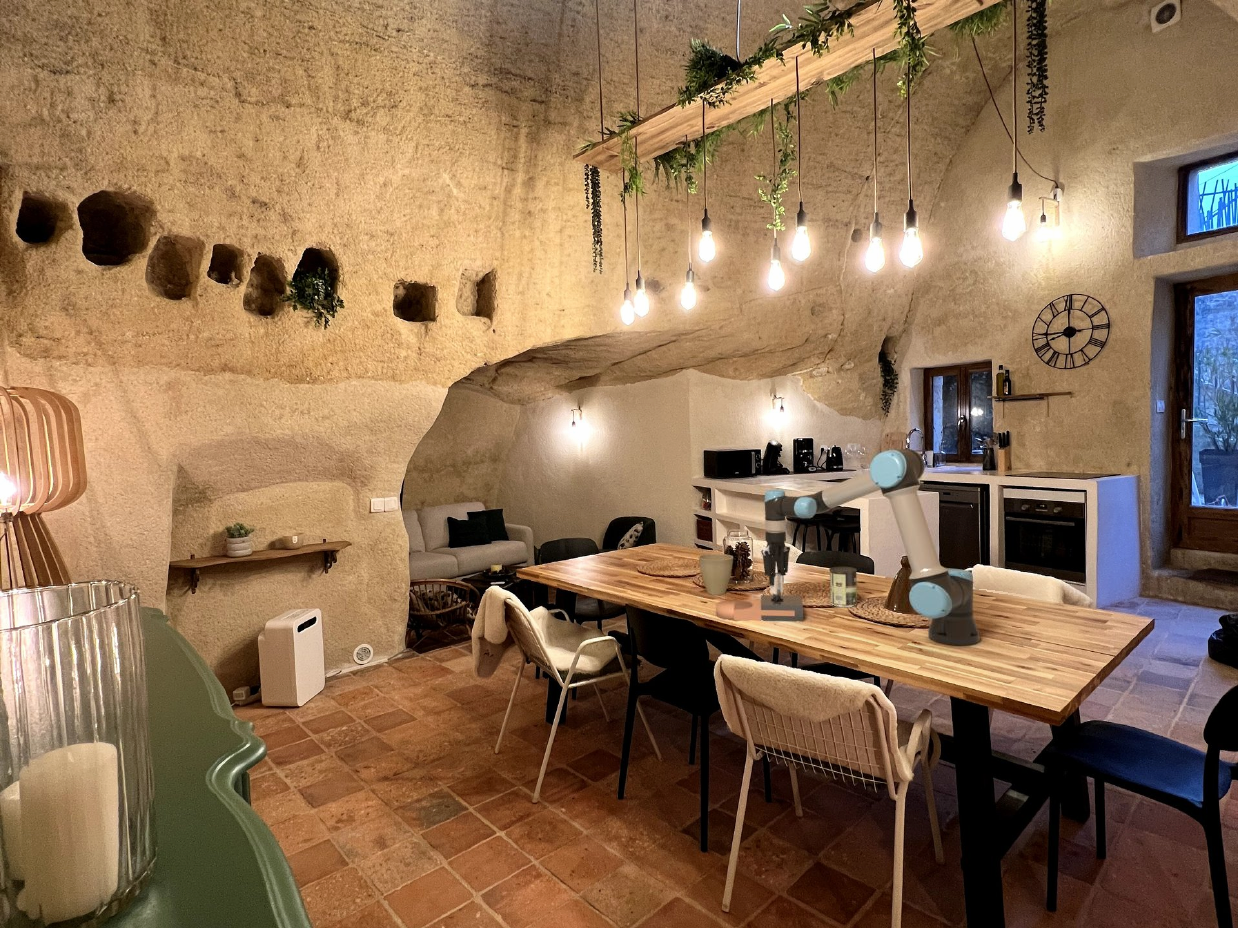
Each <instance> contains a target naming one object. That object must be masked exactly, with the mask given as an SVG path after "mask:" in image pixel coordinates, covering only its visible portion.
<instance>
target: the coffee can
mask: <svg viewBox="0 0 1238 928" xmlns="http://www.w3.org/2000/svg"><path fill="white" fill-rule="evenodd" d="M857 570H858V569H857V568H855V567H850V566H833V567H829V583H830V584H829V585H830V586H829V588H830V589H829V590H830V592H829V593H830V594H829V595H830V605H831V604H832V606H833V605H834V607H838V608H853V607H852V606H853V605H856V604H857V605H858V586H857V585H858V584H857V582H858V581H857V577H858V576H857Z"/></svg>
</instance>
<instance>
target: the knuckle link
mask: <svg viewBox="0 0 1238 928" xmlns="http://www.w3.org/2000/svg"><path fill="white" fill-rule="evenodd" d="M715 613H716V615H715V616H716V617H717V618H719V619H723V620H726V619H728V620H727V621H750V620H757V621H756V622H759V621H760V622H762V621H761V615H766V616H795V611H784V610H761V599H760V600H758V599H757V600H754V599H751V600H749V599H748V600H747V599H727V600H722V601H718V602H717V603H716V604H715ZM758 620H759V621H758Z"/></svg>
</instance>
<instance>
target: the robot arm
mask: <svg viewBox="0 0 1238 928" xmlns="http://www.w3.org/2000/svg"><path fill="white" fill-rule="evenodd" d="M925 469H926V465H925V460H924V458H923V456H922V455H921V454H920V453H919V452H917V451H916V450H915V449H914V450H913V449H910V448H902V449H901V448H899V449H889V450H885V451H882V452H879V453H878V454H877V455H875V456H874V458H873V459H872V461H870V465H869V470H868V471H865V472H863V473H861V474H859V475H856V476H854V477H851V478H849V479H846V480H844V481H842V482H838V483H837V484H834V485H832V486H829V487H827V488H825V489H823V490H819V491H817V492H814V493H812V494H805V495H799V496H789V495H786V491H785V490H783V489H769V490H766V491H765V492H764V501H763V502H764V516H765V517H764V526H765V528H764V529H765V534H764V535H765V542H766V548H765V549H761V551H760V554H761V555H762V560H763V561H762V562H763V568H764V570H763V571H764V575H765V576H767V577H768V578H769V579H768V580H769V582H768V583H769V586H770V589H769V590H770V594H772V595H773V594H777V577H775V573H781V594H783V593H784V579H785V576H787V573H788V571H789V560H790V559H789V558H790V552H791V551H790V550H791V546H787V545H786V544H785V542H786V540H787V534H786V533H787V532H786V530H787V526H786V523H787V521H786V517H792V518H799V519H811V518H813V517H814V516H815V515H816V514H824V513H826V512H828V511H829V510H831V509H834V508H836V507H839V506H841V505H844V504H847V503H850V502H852V501H855V500H857V499H859V498H862V497H864V496H867V495H870V494H873V493H876V492H878V491H880V492H881V495H882V496H883V497H884V498H886V499H888V500H889V502H890V503H889V504H890V506H891V509H892V512H893V515H894V520H895V521H896V525H897V529H898V531H899V534H900V537H901V541H902V544H903V547H904V550H905V553H906V556H907V559H908V563H909V566H910V569H911V573H910V575H909V577H908V580H909V582H910V585H911V589H910V591H909V594H908V597H909V603H910V605H911V607H912V608H913V610H914V611H915V612H916V613H917V614H919V615H920V616H922V617H923V618H926V619H931V622H930V624H929V626H928V630H927V631H928V635H927V636H928V638H929V639H930V640H931V641H934V642H937V643H940V644H945V645H951V646H954V645H955V646H972V645H976V644H979V642H980V632H979V629H978V626H977V623H976V621H975V618H974V583H975V582H974V579H973V578H974V577H973V573H972V572H971V571H969V570H965V569H958V568H948V567H944V566H942V565H941V563H940V560H939V557H938V554H937V551H936V547H935V545H934V542H933V541H934V540H933V538H932V535H931V532H930V529H929V526H928V523H927V520H926V517H925V513H924V511H923V506H922V505H921V502H920V498H919V495H918V491H919V488H920V487H921V486H920V482H919V479H921V478H922V476H923V474H925V473H924V472H925ZM776 570H777V572H776Z"/></svg>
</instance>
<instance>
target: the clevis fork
mask: <svg viewBox="0 0 1238 928" xmlns="http://www.w3.org/2000/svg"><path fill="white" fill-rule="evenodd" d="M760 600H761V610H784V611H795V616H766V615H761V620H763V621H765V622H797V621H799V622H800V623H801V622H802V623H803V622H804V606H803V599H802V595H781V600H779V601H775V600H773V595H765V594H764V595H760ZM763 621H762V622H763Z"/></svg>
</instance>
